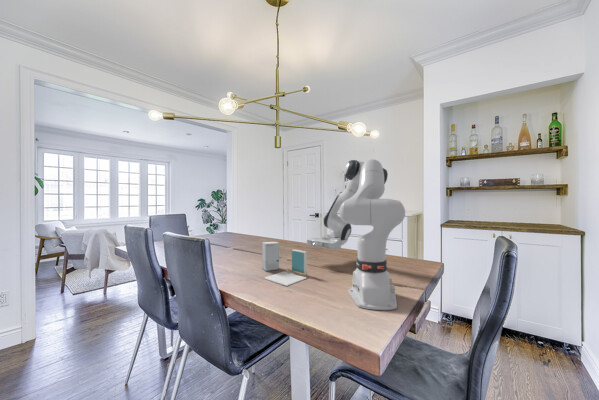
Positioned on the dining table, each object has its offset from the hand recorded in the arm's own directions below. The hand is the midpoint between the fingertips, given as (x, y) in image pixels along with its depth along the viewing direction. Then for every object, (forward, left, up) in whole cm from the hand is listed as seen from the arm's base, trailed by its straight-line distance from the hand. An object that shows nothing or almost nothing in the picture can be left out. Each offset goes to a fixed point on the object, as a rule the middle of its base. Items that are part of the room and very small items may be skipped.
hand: (314, 245), depth 139 cm
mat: (-19, +13, -13) cm, 26 cm away
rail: (-12, +8, -13) cm, 20 cm away
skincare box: (-3, +24, -13) cm, 28 cm away
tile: (-10, +7, -13) cm, 18 cm away
